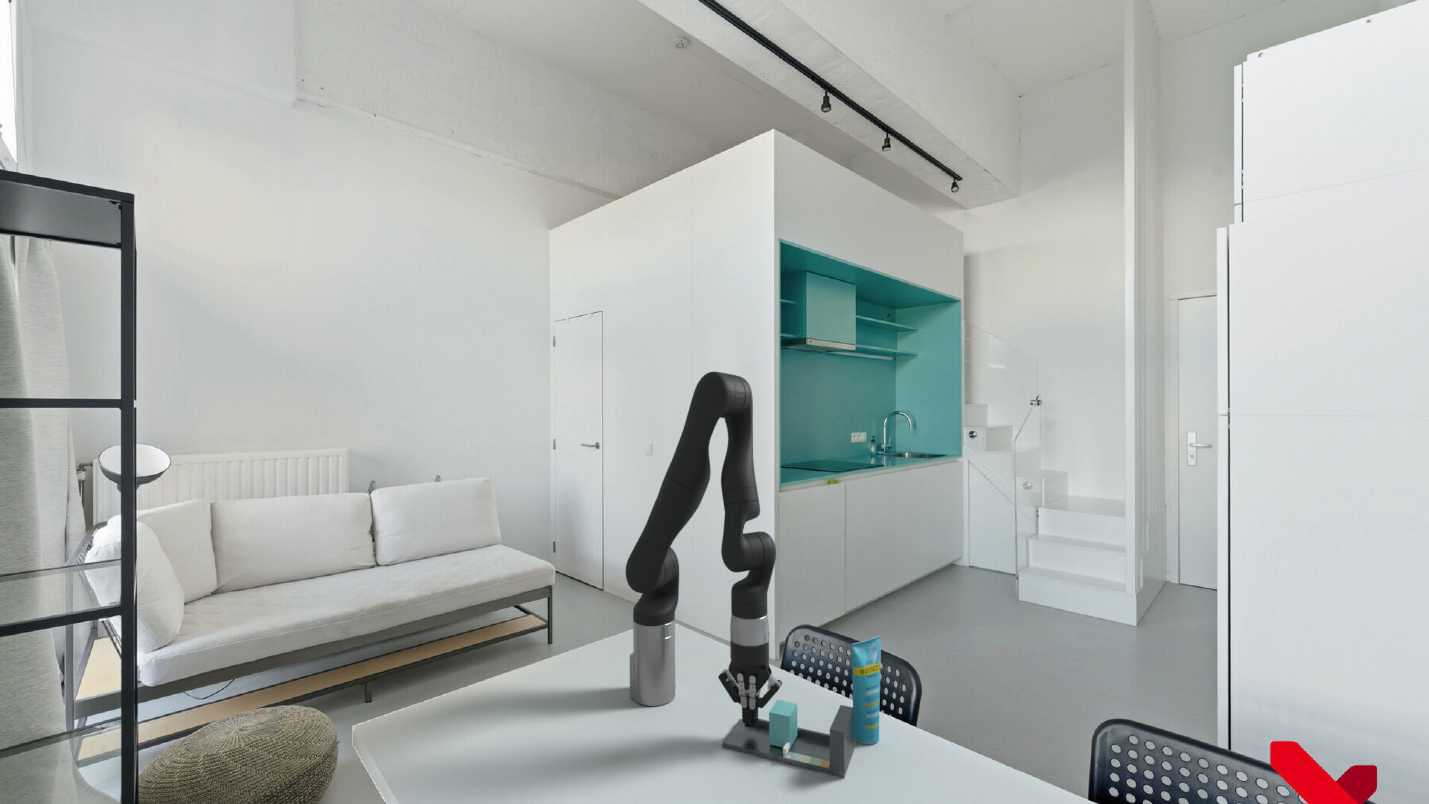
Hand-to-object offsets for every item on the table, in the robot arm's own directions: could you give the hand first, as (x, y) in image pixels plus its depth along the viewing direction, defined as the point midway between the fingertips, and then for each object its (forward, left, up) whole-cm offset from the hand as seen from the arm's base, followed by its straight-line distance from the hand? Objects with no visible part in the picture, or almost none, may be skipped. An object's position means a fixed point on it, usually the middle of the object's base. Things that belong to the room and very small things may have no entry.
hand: (750, 725), depth 116 cm
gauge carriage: (+7, -1, -1) cm, 7 cm away
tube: (+21, +9, -3) cm, 23 cm away
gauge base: (+8, 0, -3) cm, 8 cm away
